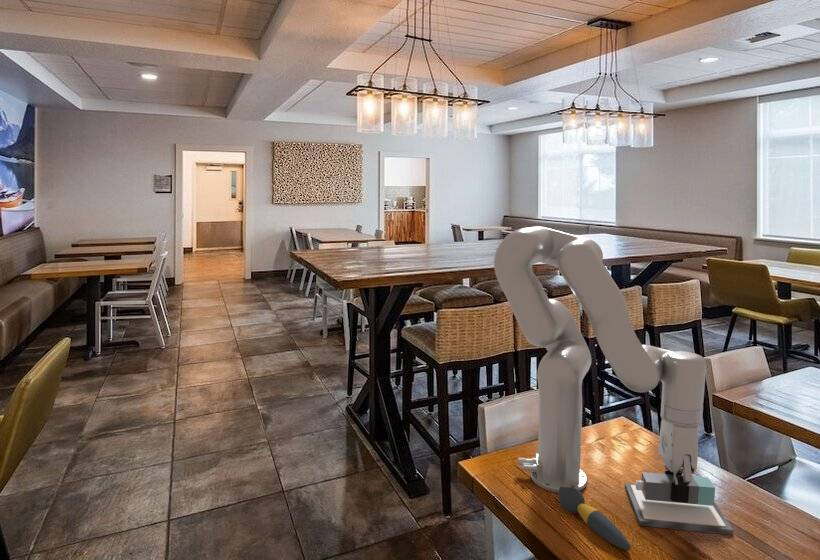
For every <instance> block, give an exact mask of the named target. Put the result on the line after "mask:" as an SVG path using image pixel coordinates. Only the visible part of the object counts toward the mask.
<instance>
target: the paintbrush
mask: <svg viewBox="0 0 820 560" xmlns="http://www.w3.org/2000/svg"><path fill="white" fill-rule="evenodd" d="M558 500H559V503H560V504H559V505H561V506H560V507H562V509H563V510H564V511H565V512H567V513H569V514H577V513H578V514H579V515H580V518H582V520H583V521H584V522H585V523H586V525H587V527H589V528H590V530H592V531H593V532H594V533H596V535H598V536H599V537H601V538H602V539H604V540H605V541H606V542H608V543H610V544H611V545H613V546H615V547H617V548H619V549H622V550H625V551H630V550H631V544H630V542H629V541H628V539H627V538H626V536H625V535H624V533H623V532H622V530H620V529H619V527H618V526H617V525H615V524H614V522H612V520H610V518H608V517H607V516H606V515H605V514H604V513H603V512H601V511H599V510H598V509H597V508H594V507H592V506H590V505H587V504H585V501H586V500H585V497H584V494H583V493H582V491H581V490H580V491H579V490H578V489H576V488H571V487H561V486H560V489H559V493H558Z"/></svg>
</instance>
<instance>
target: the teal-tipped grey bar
mask: <svg viewBox="0 0 820 560" xmlns="http://www.w3.org/2000/svg"><path fill="white" fill-rule="evenodd" d="M679 476H683V474H682V475H678V478H679ZM672 482H674V475H670V474H665V473H660V472H659V473H658V472H657V473H656V472H646V471H642V472H641V480H639V479H636V480H635V484H636V490H641V491H642V493H643V495H644V497H645V500H654V501H665V502H673V501H672V500H671V486H672ZM715 494H716V487H715V485H714V484H713V482H712V481H711V480H710V478H709V477H707V476H693V475H692V482H691V483H690V486H689V498H688V502H687V504H698V505H709V506H714V502H715V496H716V495H715ZM676 503H682V502H676Z"/></svg>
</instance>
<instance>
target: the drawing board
mask: <svg viewBox="0 0 820 560" xmlns="http://www.w3.org/2000/svg"><path fill="white" fill-rule="evenodd" d="M624 489H625V492H626V494H627V497H628V499H629V501H630V504H631V507H632V510H633V512H634V514H635V517H636V520H637V522H638V525H639V526H643V527H650V528H651V527H653V528H660V529H663V528H664V529H671V530H672V529H673V530H683V531H692V532H702V533H709V534H710V533H711V534H721V535H734V529H733V527H732V526H731V525H730V523H729V521H728V520H727V518H726V517H725V515H724V514H723V512H722V511H721V509H720V508H719V506H718V505H717V504H716V502H715V501H714V506H709V505H698V504H687V503H676V502H665V501H654V500H645V497H644V495H643V493H642V491H641V490H636V483H629V482H628V483H627V482H626V483H624Z"/></svg>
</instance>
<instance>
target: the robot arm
mask: <svg viewBox="0 0 820 560" xmlns="http://www.w3.org/2000/svg"><path fill="white" fill-rule="evenodd" d="M603 260H604V253H603V250H602V248H601V246H600V245H599V244H598V243H597V242H596V241H594V240H592V239H591V238H586V237H583V236H579V235H576V234H575V235H574V234H572V233H571V234H570V233H567V232H563V231H560V230H556V229H552V228H550V227H549V228H548V227H545V226H530V227H528V226H527V227H522V228H518V229H515V230H513V231H511V232H510V233H508V234H507V235H506V236H505V237H504V238H503V240H502V241H500V243H499V245H498V246H497V248H496V252H495V255H494V259H493V266H494V267H493V268H494V269H493V270H494V273H495V277H496V280H497V282H498V283H499V285H500V288H501V290H502V291H503V295H505V297H506V300H507V303H508V304H509V308H510V309H511V311H512V313H513V315H514V317H515V319H516V321H517V323H518V326H519V328H520V330H521V332H522V335H523V336H524V338H525V339H526V341H527V342H529V343H530V344H531V345H533V346H534V347H538V348H542V347H545V349H546V351H547V352H546V353H545V355H544V356H542V358H541V360H540V362H539V364H538V368H537V375H536V376H537V377H536V379H537V385H538V386H537V387H538V388H537V389H538V446H537V447H538V448H537V453H535V457H531V458H526V457H518V458H517V462H518V463H517V465H518V467H523V471H524V472H530V477H531V480H532V482H534V484H535V485H537V486H538V487H540V488H542V489H544V490H546V491H549V492H552V493H556V494H557V493H559V489H560V486H561V487H571V488H576V489H578V490H579V491H580V492H581V491H582V490H584V489H585V487H586V486H587V483H588V481H587V480H588V478H587V475H586V473H585V472H584V471H583V470H582V469H581V455H582V430H583V429H582V427H583V424H582V423H583V394H582V392H583V391H582V387H583V386H582V385H583V380H584V378H585V376H586V374H587V373H588V372H589V370H590V369H591V365H592V354H591V352H590V348H589V346H588V344H587V342H586V340H585V338H584V336H583V334H582V331H581V330H580V328H579V327H578V323H577V322H576V320H575V318H574V316H573V314H572V312H571V311H570V309H569V308H568V307H567V306H566V305H565V304H564V303H563V302H562V301H559V300H557V299H554V298H553V299H552V298H549V297H548V295H547V293H546V291H545V290H544V289H545V288H544V287H543V284H542V282H541V281H540V279H539V278H538V277H537V275H535V273H534V270H533V265H534V264H536V263H542V264H545V265H549V266H552V267H556V268H557V269H558V271H559V273H560V274H561V276H562V278H563V279H564V281H565V282H566V283H567V285H568V287H569V289H570V290H571V292H572V293H573V295H574V296H575V298H576V300H577V301H578V303H579V305H580V306H581V308H582V309H583V311H584V313H585V315H586V316H587V318H588V320H589V324H590V328H591V329H592V331H593V333H594V336H595V338H596V341H597V343H598V345H599V347H600V349H601V352H602V354H603V355H604V357H605V359H606V361H607V362H608V364H609V365H610V367H611V369H612V370H613V372H614V373H615V375H616V377H617V378H618V379H619V381H620V382H621V383H622V384H623V385H624V386H625V387H626V388H628V389H629V390H631V391H633V392H637V393H648V392H651V390H654V389H655V388H656V387H657V386H658V385H659V383H660V382H661V383H662V386H661V387H662V388H661V389H662V390H661V404H660V418H661V421H660V429H659V430H660V431H659V438H658V448H657V449H658V453H659V456H660V457H661V459H662V461H663V463H664V468H665V470H664V474H670V475H674V482H672V486H671V500H672V501H673V502H682V503H687V502H688V498H689V486H690V483H691V482H692V476H693V475H694V474H695V473H696V472H697V468H698V458H699V457H698V456H699V455H698V454H699V426H701V425H702V424H703V413H704V398H705V384H706V371H707V363H706V360H705V357H703V356H702V355H700V354H697V353H695V352H691V351H685V350H684V351H683V350H680V351H679V350H675V351H674V350H669V349H665V348H661V347H658V346H654V345H649V344H642V343H641V341H640V339H639V338H638V336H637V334H636V332H635V331H634V328H633V326H632V322H631V320H630V316H629V309H628V303H627V301H626V298H625V296H624V294H623V292H622V291H621V290H620V288H619V286H618V285H617V284H616V282H615V280H614V279H613V277H612V276H611V274H610V273H609V271H608V270H607V268H606V266H605V265H604V263H603ZM678 475H683V476H679V478H678Z"/></svg>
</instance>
